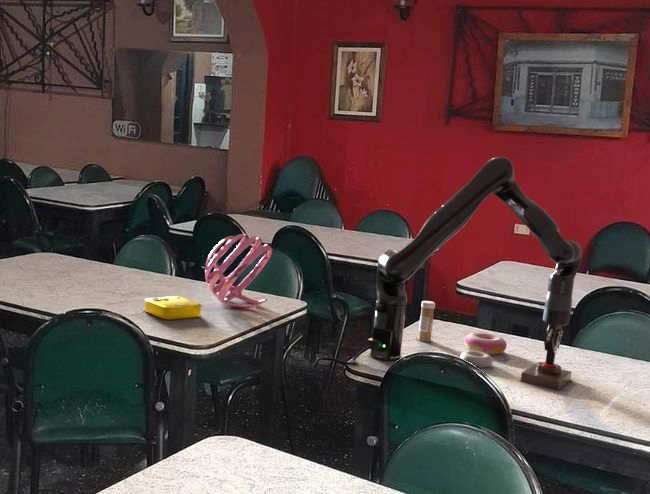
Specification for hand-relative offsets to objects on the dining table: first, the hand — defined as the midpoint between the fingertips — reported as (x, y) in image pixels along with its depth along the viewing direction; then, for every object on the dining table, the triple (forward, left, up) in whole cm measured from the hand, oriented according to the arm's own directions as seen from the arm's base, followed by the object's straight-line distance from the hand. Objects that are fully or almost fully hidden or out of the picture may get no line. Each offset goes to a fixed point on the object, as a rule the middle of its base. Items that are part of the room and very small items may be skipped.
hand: (549, 363), depth 255 cm
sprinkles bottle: (+13, +46, -5) cm, 48 cm away
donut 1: (+17, +26, -5) cm, 32 cm away
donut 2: (-2, +22, -5) cm, 23 cm away
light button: (0, 0, -2) cm, 2 cm away
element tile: (-28, +123, -5) cm, 126 cm away
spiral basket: (+4, +119, -5) cm, 119 cm away
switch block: (-2, 0, -5) cm, 5 cm away
